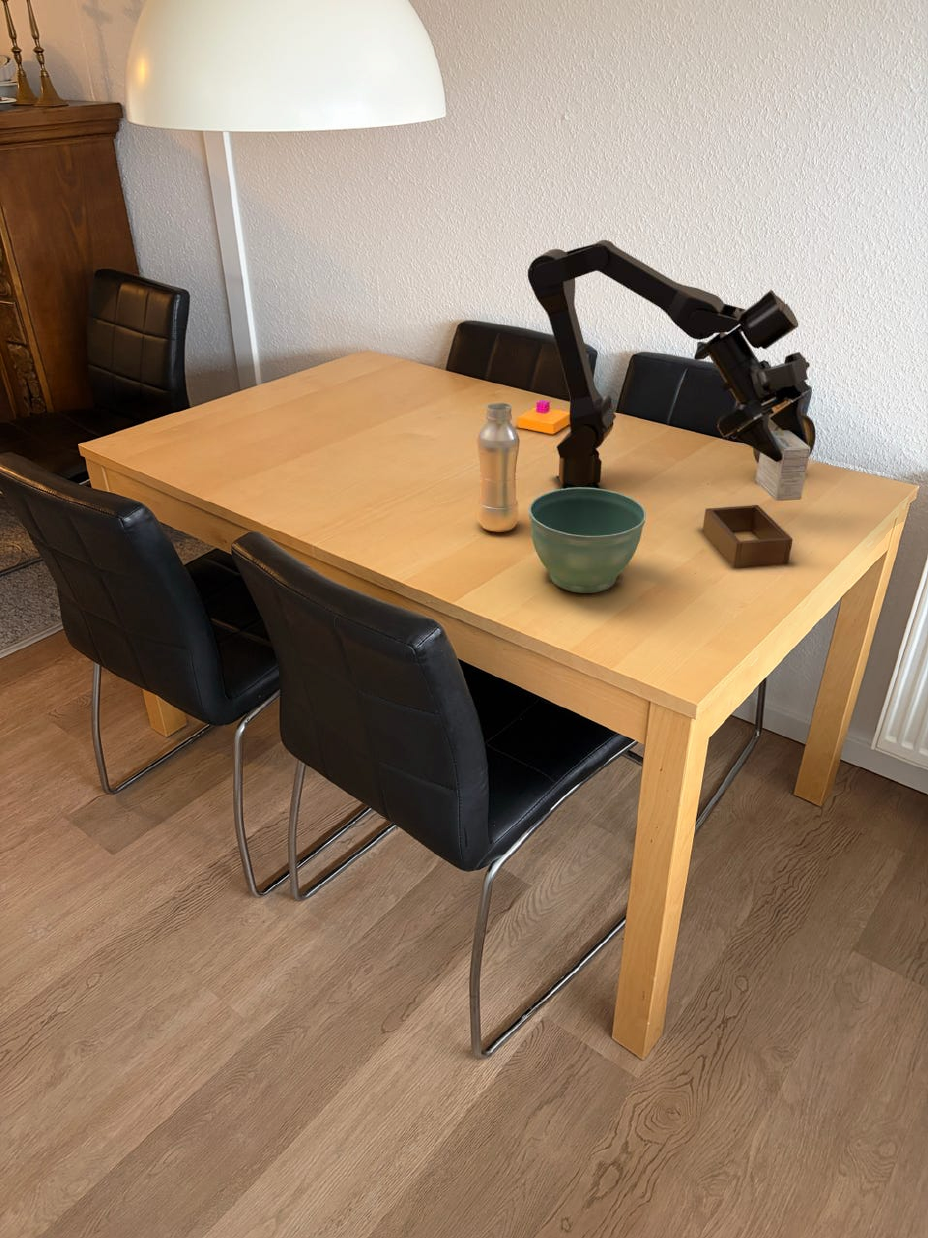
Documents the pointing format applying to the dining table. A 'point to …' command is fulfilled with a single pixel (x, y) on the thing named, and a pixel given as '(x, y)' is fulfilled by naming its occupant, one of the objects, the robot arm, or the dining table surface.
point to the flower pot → (585, 536)
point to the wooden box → (750, 552)
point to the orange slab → (544, 418)
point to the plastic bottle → (498, 470)
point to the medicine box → (784, 468)
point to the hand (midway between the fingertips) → (792, 453)
